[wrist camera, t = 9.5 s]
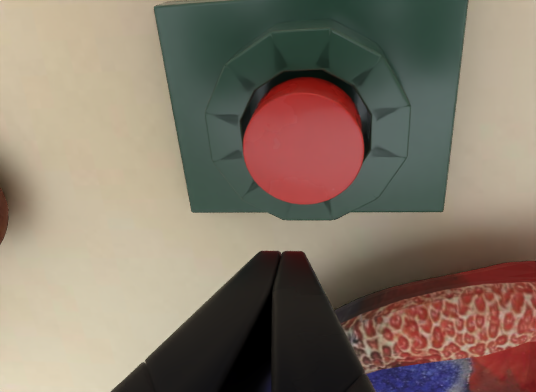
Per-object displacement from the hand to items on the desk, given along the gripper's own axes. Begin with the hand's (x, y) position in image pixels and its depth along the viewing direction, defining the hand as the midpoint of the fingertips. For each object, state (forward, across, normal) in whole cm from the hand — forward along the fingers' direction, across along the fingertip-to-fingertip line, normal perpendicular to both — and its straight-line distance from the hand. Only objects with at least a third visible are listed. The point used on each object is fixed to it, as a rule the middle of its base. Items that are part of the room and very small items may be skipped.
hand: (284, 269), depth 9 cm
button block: (+10, 0, 0) cm, 10 cm away
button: (+7, 0, 0) cm, 7 cm away
